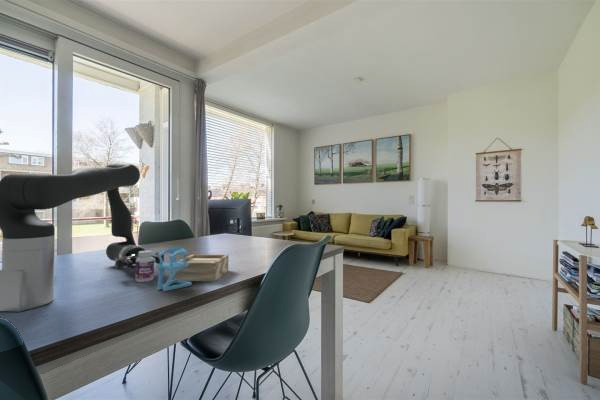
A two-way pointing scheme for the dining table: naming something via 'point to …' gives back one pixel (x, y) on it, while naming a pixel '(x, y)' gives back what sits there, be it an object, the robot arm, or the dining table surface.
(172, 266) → the chair
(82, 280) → the dining table surface
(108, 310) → the dining table surface
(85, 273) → the dining table surface
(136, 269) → the pill bottle
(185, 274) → the birch block
